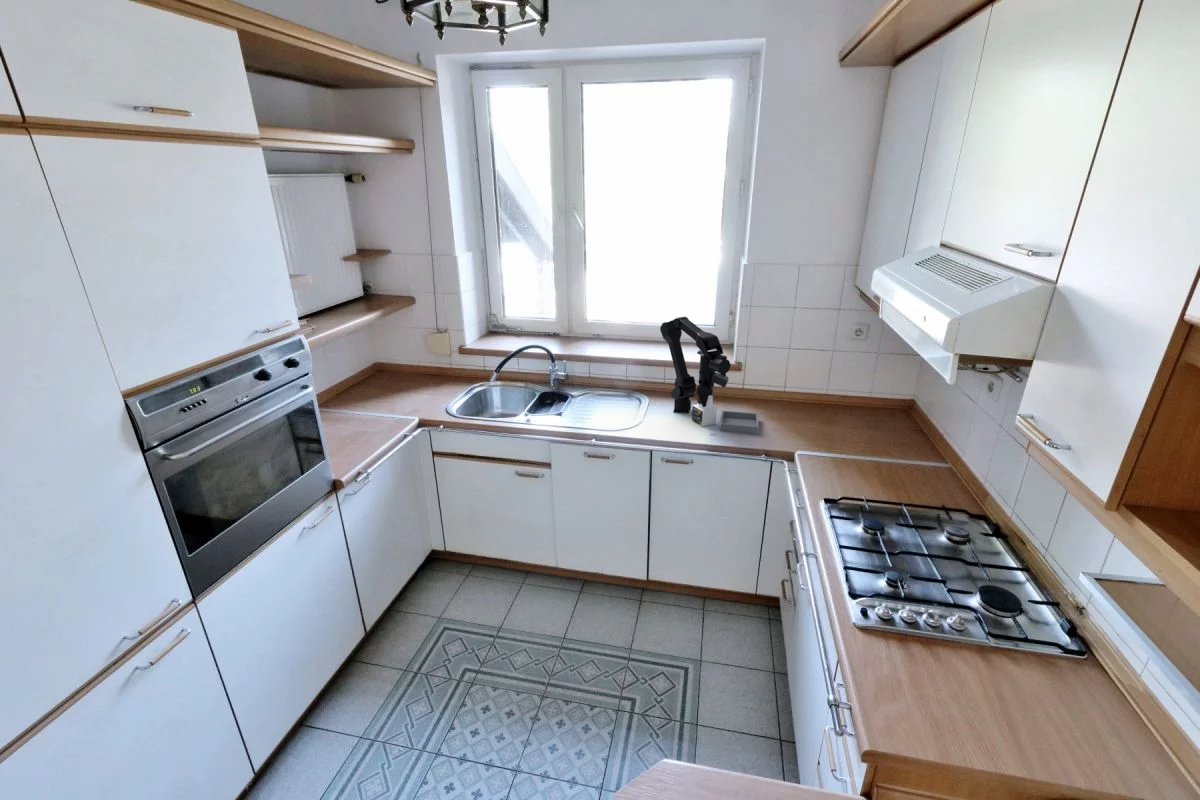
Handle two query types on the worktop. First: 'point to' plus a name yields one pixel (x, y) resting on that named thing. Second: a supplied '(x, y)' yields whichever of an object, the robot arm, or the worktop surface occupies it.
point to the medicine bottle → (704, 413)
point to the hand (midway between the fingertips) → (704, 404)
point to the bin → (739, 422)
